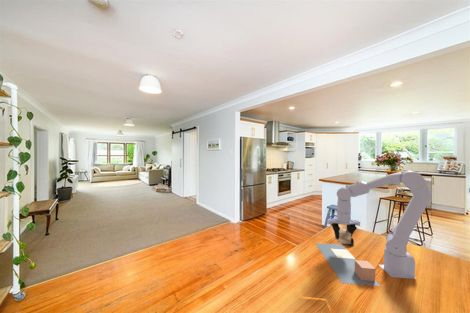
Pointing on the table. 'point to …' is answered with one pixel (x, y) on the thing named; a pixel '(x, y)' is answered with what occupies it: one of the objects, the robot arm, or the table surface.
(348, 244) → the build plate
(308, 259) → the table surface
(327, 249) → the board
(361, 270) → the terracotta cube
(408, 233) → the robot arm
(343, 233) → the maple cube
